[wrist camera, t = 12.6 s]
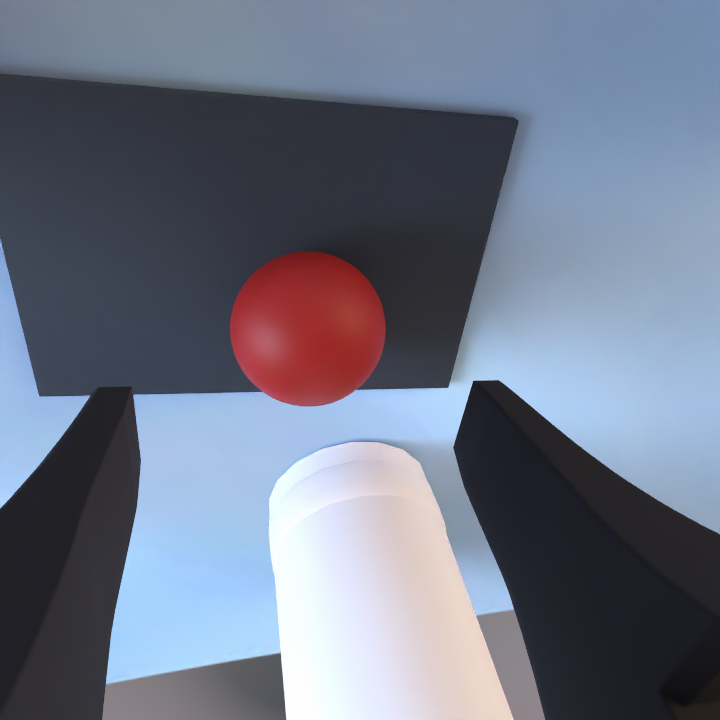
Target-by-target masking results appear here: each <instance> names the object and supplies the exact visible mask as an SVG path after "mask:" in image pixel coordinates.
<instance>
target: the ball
mask: <svg viewBox="0 0 720 720" xmlns="http://www.w3.org/2000/svg"><path fill="white" fill-rule="evenodd" d="M385 329H386V327H385V317H384V312H383V308H382V304H381V302H380V299H379V297H378V295H377V293H376V291H375V290H374V288H373V286H372V285H371V283H370V282H369V281H368V279H367V278H366V277H365V276H364V275H363V274H362V273H361V272H360V271H359V270H358V269H357V268H355V267H354V266H352V265H351V264H350V263H348V262H346V261H344V260H342V259H340V258H338V257H335V256H333V255H330V254H326V253H322V252H314V251H301V252H293V253H289V254H285V255H282V256H279V257H277V258H274V259H273V260H271V261H269V262H267V263H266V264H264V265H263V266H261V267H260V268H259V269H258V270H256V271H255V272H254V273H253V274H252V275H251V276H250V277H249V278H248V280H247V281H246V282H245V284H244V285H243V287H242V288H241V290H240V292H239V294H238V295H237V298H236V300H235V303H234V306H233V310H232V314H231V321H230V334H231V343H232V347H233V351H234V354H235V357H236V359H237V361H238V364H239V365H240V367H241V369H242V370H243V372H244V373H245V375H246V376H247V377H248V379H249V380H250V381H251V382H252V383H253V384H254V385H255V386H256V387H257V388H259V389H260V390H261V391H263V392H264V393H265V394H267V395H268V396H270V397H272V398H274V399H276V400H279V401H281V402H284V403H288V404H291V405H297V406H319V405H325V404H329V403H333V402H335V401H338V400H340V399H342V398H344V397H346V396H348V395H349V394H351V393H352V392H354V391H355V390H356V389H357V388H359V387H360V386H361V385H362V384H363V383H364V382H365V381H366V380H367V379H368V378H369V376H370V375H371V373H372V372H373V370H374V369H375V367H376V365H377V363H378V362H379V359H380V356H381V354H382V350H383V346H384V342H385Z"/></svg>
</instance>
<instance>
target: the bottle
mask: <svg viewBox="0 0 720 720" xmlns="http://www.w3.org/2000/svg"><path fill="white" fill-rule="evenodd" d="M269 511H270V522H269V542H270V551H271V560H272V567H273V573H274V575H275V585H276V597H277V609H278V621H279V634H280V646H281V658H282V671H283V683H284V695H285V707H286V719H287V720H513V717H512V714H511V711H510V708H509V706H508V703H507V700H506V697H505V695H504V692H503V689H502V687H501V684H500V681H499V678H498V676H497V673H496V670H495V667H494V664H493V662H492V659H491V656H490V653H489V650H488V648H487V645H486V643H485V639H484V637H483V634H482V631H481V628H480V626H479V623H478V620H477V617H476V615H475V612H474V609H473V606H472V604H471V601H470V598H469V595H468V593H467V590H466V587H465V584H464V581H463V579H462V576H461V573H460V570H459V568H458V565H457V562H456V559H455V557H454V554H453V551H452V548H451V546H450V543H449V540H448V537H447V535H446V526H445V523H444V519H443V517H442V514H441V511H440V509H439V506H438V504H437V501H436V499H435V497H434V494H433V492H432V489H431V487H430V485H429V483H428V482H427V479H426V477H425V475H424V472H423V470H422V467H421V465H420V463H419V462H418V461H416V460H415V459H414V458H413V457H412V456H410V455H409V454H408V453H407V452H405V451H404V450H402V449H399V448H396V447H393V446H390V445H386V444H383V443H380V442H348V443H344V444H340V445H335V446H331V447H327V448H323V449H320V450H318V451H316V452H314V453H313V454H311V455H309V456H307V457H305V458H303V459H301V460H300V461H298V462H296V463H294V464H293V465H292V466H291V467H290V468H289V469H288V470H287V471H286V472H285V473H284V474H283V475H282V477H281V478H280V479H279V480H278V481H277V482H276V484H275V487H274V489H273V492H272V494H271V497H270V499H269Z"/></svg>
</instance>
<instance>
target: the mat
mask: <svg viewBox="0 0 720 720" xmlns="http://www.w3.org/2000/svg"><path fill="white" fill-rule="evenodd" d="M517 125H518V120H516V119H515V118H512V117H501V116H489V115H477V114H465V113H454V112H442V111H430V110H418V109H407V108H395V107H383V106H371V105H359V104H348V103H336V102H324V101H312V100H301V99H289V98H277V97H265V96H254V95H242V94H230V93H218V92H207V91H195V90H183V89H171V88H159V87H148V86H136V85H124V84H112V83H101V82H89V81H77V80H65V79H54V78H42V77H30V76H18V75H7V74H0V238H1V242H2V246H3V251H4V255H5V259H6V263H7V267H8V271H9V275H10V279H11V283H12V287H13V291H14V295H15V299H16V303H17V307H18V312H19V316H20V320H21V324H22V328H23V332H24V336H25V340H26V344H27V348H28V352H29V356H30V360H31V364H32V368H33V373H34V377H35V381H36V385H37V389H38V393H39V396H84V395H91V394H92V393H93V391H95V390H96V389H97V388H98V387H124V386H132V391H133V394H177V393H223V392H263V391H261V390H260V389H259V388H257V387H256V386H255V385H254V384H253V383H252V382H251V381H250V380H249V379H248V377H247V376H246V375H245V373H244V372H243V370H242V369H241V367H240V365H239V364H238V361H237V359H236V357H235V354H234V351H233V347H232V343H231V334H230V321H231V314H232V310H233V306H234V303H235V300H236V298H237V295H238V294H239V292H240V290H241V288H242V287H243V285H244V284H245V282H246V281H247V280H248V278H249V277H250V276H251V275H252V274H253V273H254V272H255V271H256V270H258V269H259V268H260V267H261V266H263V265H264V264H266V263H267V262H269V261H271V260H273V259H274V258H277V257H279V256H282V255H285V254H289V253H293V252H301V251H314V252H322V253H326V254H330V255H333V256H335V257H338V258H340V259H342V260H344V261H346V262H348V263H350V264H351V265H352V266H354V267H355V268H357V269H358V270H359V271H360V272H361V273H362V274H363V275H364V276H365V277H366V278H367V279H368V281H369V282H370V283H371V285H372V286H373V288H374V290H375V291H376V293H377V295H378V297H379V299H380V302H381V304H382V308H383V312H384V317H385V327H386V329H385V342H384V346H383V350H382V354H381V356H380V359H379V362H378V363H377V365H376V367H375V369H374V370H373V372H372V373H371V375H370V376H369V378H368V379H367V380H366V381H365V382H364V383H363V384H362V385H361V386H360V387H359V388H357V389H356V390H362V389H408V388H448V386H449V382H450V379H451V375H452V371H453V367H454V363H455V360H456V356H457V352H458V348H459V345H460V341H461V337H462V333H463V329H464V326H465V322H466V318H467V314H468V311H469V307H470V303H471V299H472V295H473V292H474V288H475V284H476V280H477V276H478V273H479V269H480V265H481V261H482V258H483V254H484V250H485V246H486V242H487V239H488V235H489V231H490V227H491V224H492V220H493V216H494V212H495V208H496V205H497V201H498V197H499V193H500V189H501V186H502V182H503V178H504V174H505V171H506V167H507V163H508V159H509V155H510V152H511V148H512V144H513V140H514V137H515V133H516V129H517Z"/></svg>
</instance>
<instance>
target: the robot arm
mask: <svg viewBox="0 0 720 720" xmlns="http://www.w3.org/2000/svg"><path fill="white" fill-rule="evenodd" d="M453 448H454V452H455V455H456V459H457V463H458V467H459V471H460V474H461V477H462V481H463V484H464V487H465V490H466V492H467V495H468V497H469V500H470V502H471V504H472V507H473V509H474V511H475V514H476V516H477V518H478V521H479V523H480V525H481V527H482V530H483V532H484V534H485V537H486V539H487V541H488V543H489V546H490V548H491V550H492V553H493V555H494V557H495V559H496V562H497V564H498V566H499V569H500V571H501V573H502V576H503V578H504V581H505V583H506V586H507V589H508V591H509V594H510V597H511V600H512V604H513V607H514V610H515V613H516V616H517V619H518V623H519V626H520V629H521V632H522V635H523V639H524V642H525V645H526V649H527V653H528V656H529V659H530V663H531V666H532V670H533V673H534V677H535V681H536V685H537V689H538V693H539V696H540V700H541V704H542V708H543V712H544V716H545V720H720V534H718V533H716V532H714V531H712V530H710V529H708V528H706V527H704V526H702V525H700V524H699V523H697V522H695V521H693V520H691V519H689V518H688V517H686V516H684V515H682V514H680V513H679V512H677V511H675V510H673V509H671V508H670V507H668V506H666V505H665V504H663V503H661V502H659V501H658V500H656V499H655V498H653V497H651V496H650V495H648V494H647V493H645V492H644V491H642V490H640V489H639V488H637V487H636V486H634V485H633V484H631V483H629V482H628V481H626V480H625V479H623V478H622V477H621V476H619V475H618V474H616V473H615V472H613V471H612V470H610V469H609V468H608V467H606V466H605V465H604V464H602V463H601V462H600V461H598V460H597V459H596V458H594V457H593V456H591V455H590V454H589V453H587V452H586V451H585V450H584V449H582V448H581V447H580V446H578V445H577V444H576V443H575V442H573V441H572V440H571V439H570V438H568V437H567V436H566V435H565V434H563V433H562V432H561V431H560V430H558V429H557V428H556V427H555V426H554V425H552V424H551V423H550V422H549V421H548V420H546V419H545V418H544V417H543V416H542V415H540V414H539V413H538V412H537V411H536V410H535V409H533V408H532V407H531V406H530V405H529V404H527V403H526V402H525V401H524V400H523V399H521V398H520V397H519V396H518V395H517V394H515V393H514V392H513V391H512V390H510V389H509V388H508V387H507V386H505V385H504V384H503V383H501V382H500V381H499V380H494V381H473V384H472V387H471V391H470V394H469V397H468V400H467V404H466V407H465V410H464V414H463V417H462V420H461V424H460V427H459V430H458V434H457V437H456V440H455V444H454V447H453ZM140 464H141V458H140V450H139V441H138V433H137V425H136V416H135V408H134V400H133V391H132V386H124V387H98V388H97V389H96V390H95V391H93V393H92V394H91V396H90V398H89V399H88V401H87V402H86V404H85V405H84V407H83V408H82V410H81V411H80V412H79V414H78V415H77V417H76V418H75V420H74V421H73V422H72V424H71V425H70V426H69V428H68V429H67V430H66V432H65V433H64V435H63V436H62V437H61V438H60V440H59V441H58V442H57V444H56V445H55V446H54V447H53V449H52V450H51V451H50V452H49V454H48V455H47V456H46V457H45V459H44V460H43V461H42V463H41V464H40V465H39V466H38V467H37V469H36V470H35V471H34V472H33V473H32V474H31V475H30V477H29V478H28V479H27V480H26V481H25V482H24V483H23V484H22V486H21V487H20V488H19V489H18V490H17V491H16V492H15V493H14V495H13V496H12V497H11V498H10V499H9V500H8V501H7V502H6V503H5V504H4V505H3V506H2V507H1V509H0V720H102V714H103V704H104V694H105V684H106V675H107V666H108V657H109V648H110V639H111V631H112V625H113V619H114V613H115V608H116V603H117V598H118V594H119V589H120V584H121V579H122V575H123V570H124V565H125V561H126V556H127V551H128V547H129V542H130V537H131V532H132V528H133V523H134V518H135V513H136V508H137V499H138V488H139V476H140Z"/></svg>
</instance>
